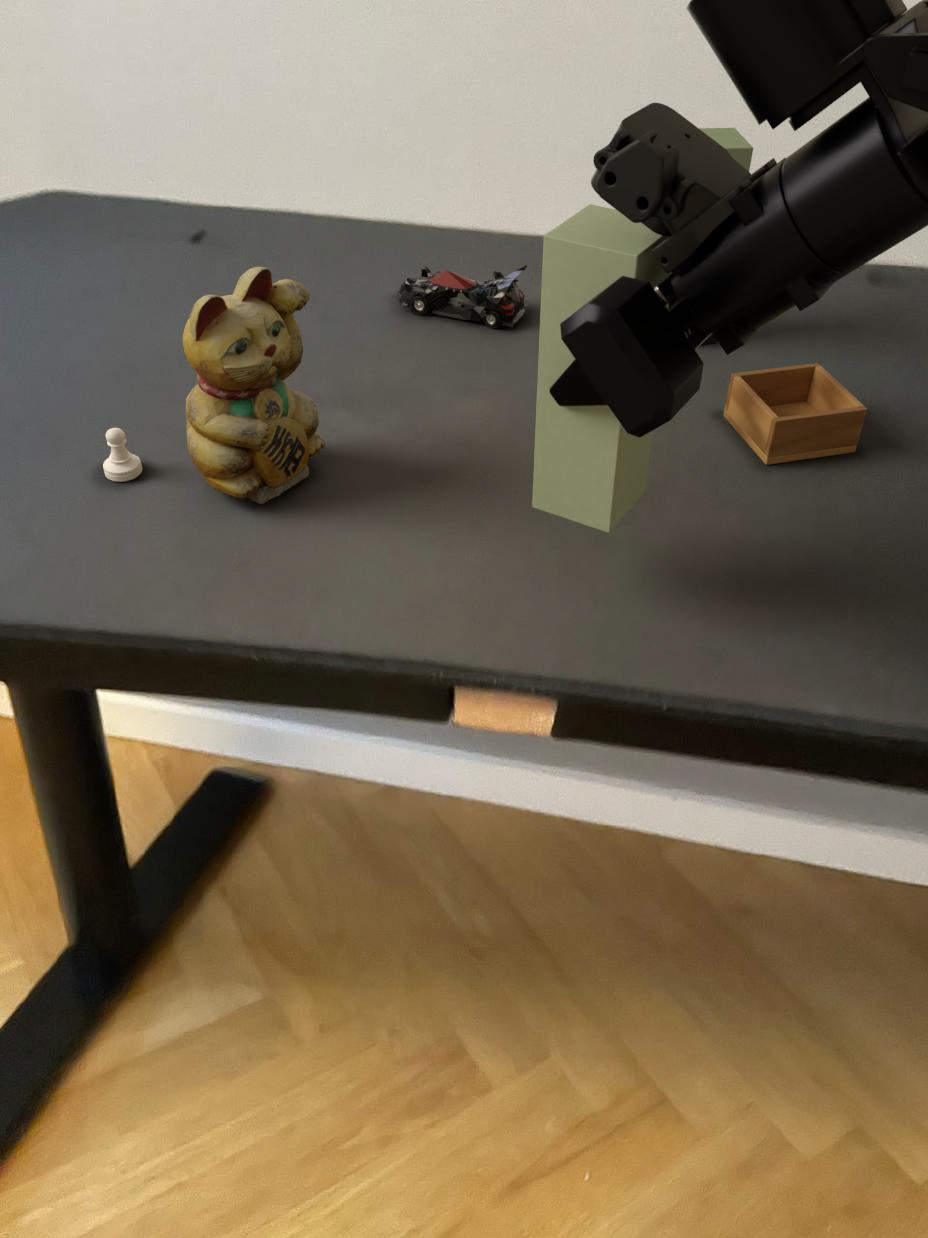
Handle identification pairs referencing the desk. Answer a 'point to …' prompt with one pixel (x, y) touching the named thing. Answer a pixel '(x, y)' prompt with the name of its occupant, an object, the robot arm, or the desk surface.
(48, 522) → the desk surface
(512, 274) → the toy car
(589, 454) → the sage green pillar
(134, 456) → the chess pawn
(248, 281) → the decorative figurine
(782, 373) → the small open wooden box
